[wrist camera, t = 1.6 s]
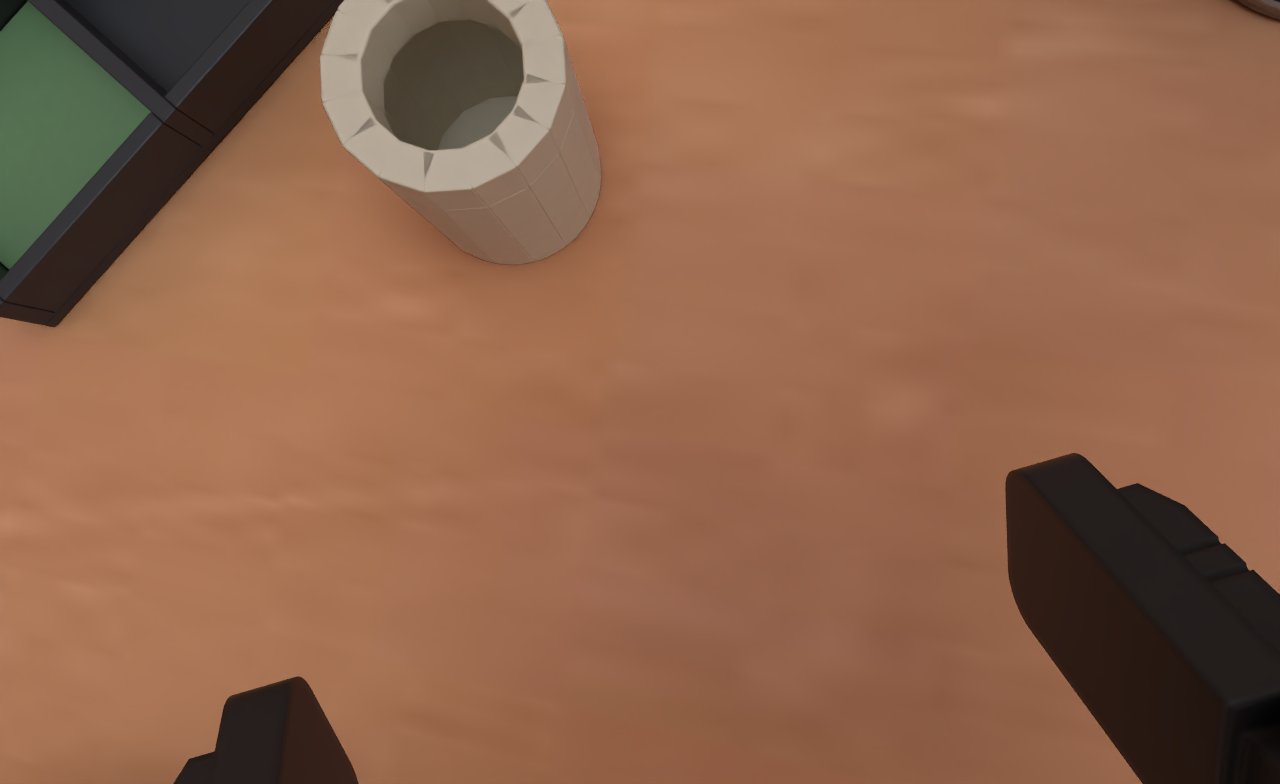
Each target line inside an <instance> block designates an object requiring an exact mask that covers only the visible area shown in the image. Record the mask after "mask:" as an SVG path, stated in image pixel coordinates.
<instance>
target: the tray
mask: <svg viewBox="0 0 1280 784" xmlns="http://www.w3.org/2000/svg"><path fill="white" fill-rule="evenodd" d="M343 1H344V0H0V317H4V318H9V319H14V320H19V321H25V322H30V323H35V324H40V325H46V326H51V327H55V326H56V325H57V324H58V323H59V322H60V321H61V320H62V319H63V317H64V316H65V315H66V314H67V313H68V312H69V311H70V310H71V308H72V307H73V306H74V305H75V304H76V303H77V302H78V301H79V299H80V298H81V297H82V296H83V295H84V294H85V293H86V292H87V291H88V289H89V288H90V287H91V286H92V285H93V284H94V283H95V282H96V280H97V279H98V278H99V277H100V276H101V275H102V274H103V273H104V271H105V270H106V269H107V268H108V267H109V266H110V265H111V264H112V262H113V261H114V260H115V259H116V258H117V257H118V256H119V255H120V254H121V252H122V251H123V250H124V249H125V248H126V247H127V246H128V245H129V243H130V242H131V241H132V240H133V239H134V238H135V237H136V236H137V234H138V233H139V232H140V231H141V230H142V229H143V228H144V227H145V225H146V224H147V223H148V222H149V221H150V220H151V219H152V218H153V216H154V215H155V214H156V213H157V212H158V211H159V210H160V209H161V208H162V206H163V205H164V204H165V203H166V202H167V201H168V200H169V199H170V197H171V196H172V195H173V194H174V193H175V192H176V191H177V190H178V188H179V187H180V186H181V185H182V184H183V183H184V182H185V181H186V179H187V178H188V177H189V176H190V175H191V174H192V173H193V172H194V170H195V169H196V168H197V167H198V166H199V165H200V164H201V163H202V162H203V160H204V159H205V158H206V157H207V156H208V155H209V154H210V153H211V151H212V150H213V149H214V148H215V147H216V146H217V145H218V144H219V142H220V141H221V140H222V139H223V138H224V137H225V136H226V135H227V133H228V132H229V131H230V130H231V129H232V128H233V127H234V126H235V125H236V123H237V122H238V121H239V120H240V119H241V118H242V117H243V116H244V114H245V113H246V112H247V111H248V110H249V109H250V108H251V107H252V105H253V104H254V103H255V102H256V101H257V100H258V99H259V98H260V96H261V95H262V94H263V93H264V92H265V91H266V90H267V89H268V87H269V86H270V85H271V84H272V83H273V82H274V81H275V80H276V79H277V77H278V76H279V75H280V74H281V73H282V72H283V71H284V70H285V68H286V67H287V66H288V65H289V64H290V63H291V62H292V61H293V59H294V58H295V57H296V56H297V55H298V54H299V53H300V52H301V50H302V49H303V48H304V47H305V46H306V45H307V44H308V43H309V41H310V40H311V39H312V38H313V37H314V36H315V35H316V34H317V33H318V31H319V30H320V29H321V28H322V27H323V26H324V25H325V24H326V22H327V21H328V20H329V19H330V18H331V17H332V16H333V15H334V13H335V12H336V11H337V10H338V7H339V5H340V4H341V3H342V2H343Z"/></svg>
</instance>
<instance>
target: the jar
mask: <svg viewBox="0 0 1280 784" xmlns="http://www.w3.org/2000/svg"><path fill="white" fill-rule="evenodd" d="M320 76H321V99H322V102H323V107H324V109H325V111H326V113H327V115H328V117H329V119H330V122H331V124H332V126H333V128H334V130H335V132H336V134H337V136H338V138H339V141H340V143H341V144H342V145H343V147H344V148H345V149H346V150H347V151H348V152H349V153H350V154H352V155H353V156H354V157H355V158H356V159H357V160H358V161H359V162H361V163H362V164H363V165H364V166H365V167H366V168H367V169H368V170H370V171H371V172H372V173H373V174H374V175H375V176H376V177H378V178H379V179H380V180H381V181H382V182H383V183H384V184H386V185H387V186H388V187H389V188H390V189H391V190H393V191H394V192H395V193H396V194H397V195H398V196H400V197H401V198H402V199H403V200H404V201H405V202H407V203H408V204H409V205H410V206H411V207H412V208H413V209H415V210H416V211H417V212H418V213H419V214H420V215H422V216H423V217H424V218H425V219H426V220H427V221H429V222H430V223H431V224H432V225H433V226H434V227H436V228H437V229H438V230H439V231H440V232H441V233H443V234H444V235H445V236H446V237H447V238H448V239H449V240H451V241H452V242H453V243H454V244H455V245H456V246H458V247H459V248H460V249H461V250H463V251H464V252H467V253H469V254H471V255H472V256H475V257H477V258H480V259H482V260H485V261H489V262H492V263H498V264H506V265H518V264H525V263H531V262H534V261H538V260H541V259H544V258H546V257H549V256H551V255H553V254H554V253H556V252H558V251H560V250H561V249H563V248H564V247H565V246H567V245H568V244H569V243H571V242H572V241H573V240H574V239H575V238H576V237H577V236H578V235H579V233H580V232H581V231H582V230H583V228H584V227H585V226H586V224H587V222H588V221H589V219H590V217H591V216H592V213H593V211H594V209H595V206H596V204H597V200H598V197H599V193H600V186H601V165H600V158H599V149H598V145H597V142H596V139H595V136H594V132H593V129H592V126H591V123H590V120H589V116H588V113H587V110H586V107H585V103H584V100H583V97H582V94H581V91H580V87H579V84H578V81H577V78H576V75H575V71H574V68H573V65H572V62H571V59H570V56H569V53H568V50H567V46H566V43H565V40H564V37H563V34H562V31H561V29H560V27H559V25H558V23H557V21H556V19H555V17H554V15H553V13H552V11H551V9H550V7H549V5H548V3H547V1H546V0H344V1H343V2H342V3H341V4H340V5H339V7H338V11H336V12H335V15H334V17H333V20H332V23H331V26H330V29H329V31H328V34H327V37H326V40H325V42H324V45H323V48H322V51H321V55H320Z"/></svg>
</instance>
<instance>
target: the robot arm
mask: <svg viewBox="0 0 1280 784" xmlns="http://www.w3.org/2000/svg"><path fill="white" fill-rule="evenodd" d="M1237 1H1239V2H1240V3H1242V4H1244V5H1245V6H1247V7H1249V8H1251V9H1253V10H1255V11H1257V12H1259V13H1262V14H1264V15H1267V16H1270V17H1273V18H1276V19H1280V0H1237ZM1005 490H1006V519H1007V549H1008V573H1009V580H1010V585H1011V589H1012V593H1013V596H1014V599H1015V601H1016V604H1017V606H1018V609H1019V611H1020V613H1021V615H1022V617H1023V619H1024V621H1025V622H1026V624H1027V626H1028V627H1029V629H1030V630H1031V631H1032V633H1033V634H1034V636H1035V637H1036V638H1037V640H1038V641H1039V642H1040V644H1041V645H1042V646H1043V648H1044V649H1045V651H1046V652H1047V653H1048V655H1049V656H1050V657H1051V659H1052V660H1053V662H1054V663H1055V664H1056V666H1057V667H1058V668H1059V670H1060V671H1061V672H1062V674H1063V675H1064V677H1065V678H1066V679H1067V681H1068V682H1069V683H1070V685H1071V686H1072V688H1073V689H1074V690H1075V692H1076V693H1077V694H1078V696H1079V697H1080V699H1081V700H1082V701H1083V703H1084V704H1085V705H1086V707H1087V708H1088V709H1089V711H1090V712H1091V714H1092V715H1093V716H1094V718H1095V719H1096V720H1097V722H1098V723H1099V725H1100V726H1101V727H1102V729H1103V730H1104V731H1105V733H1106V734H1107V735H1108V737H1109V738H1110V740H1111V741H1112V742H1113V744H1114V745H1115V746H1116V748H1117V749H1118V751H1119V752H1120V753H1121V755H1122V756H1123V757H1124V759H1125V760H1126V762H1127V763H1128V764H1129V766H1130V767H1131V768H1132V770H1133V771H1134V772H1135V774H1136V775H1137V777H1138V778H1139V779H1140V781H1141V782H1142V783H1143V784H1280V594H1278V593H1277V592H1276V591H1275V590H1274V589H1273V588H1272V587H1271V586H1270V585H1269V584H1268V583H1267V582H1266V581H1265V580H1263V579H1262V578H1261V577H1260V576H1259V575H1258V574H1257V573H1256V572H1255V571H1254V570H1251V571H1249V570H1248V568H1247V566H1246V563H1245V562H1244V561H1243V560H1242V559H1241V558H1240V557H1239V556H1238V555H1237V554H1236V553H1235V552H1234V551H1233V550H1231V549H1230V548H1229V547H1228V546H1227V545H1226V544H1225V543H1224V544H1221V543H1220V542H1219V540H1218V536H1217V535H1215V534H1214V533H1213V532H1212V531H1211V530H1210V529H1209V528H1208V527H1207V526H1206V525H1205V524H1204V523H1203V522H1202V521H1201V520H1199V519H1198V518H1197V517H1196V516H1195V515H1194V514H1193V513H1192V512H1191V511H1190V510H1189V509H1188V508H1187V507H1186V506H1185V505H1182V504H1180V503H1178V502H1176V501H1174V500H1172V499H1170V498H1168V497H1166V496H1163V495H1161V494H1159V493H1157V492H1155V491H1153V490H1151V489H1149V488H1147V487H1144V486H1142V485H1140V484H1138V483H1136V484H1133V485H1130V486H1126V487H1123V488H1119V489H1116V488H1115V487H1114V486H1113V485H1112V484H1111V483H1110V482H1109V481H1108V480H1107V479H1106V478H1105V477H1104V476H1103V475H1102V474H1101V473H1100V472H1099V471H1098V470H1097V469H1096V468H1095V467H1094V466H1093V465H1092V464H1091V463H1090V462H1089V461H1088V460H1087V459H1086V458H1085V457H1083V456H1081V455H1080V454H1077V453H1071V454H1068V455H1065V456H1061V457H1058V458H1054V459H1051V460H1047V461H1044V462H1041V463H1037V464H1034V465H1030V466H1027V467H1023V468H1020V469H1016V470H1013V471H1011V472H1009V474H1008V475H1007V478H1006V488H1005ZM174 784H358V780H357V777H356V774H355V772H354V769H353V767H352V765H351V762H350V761H349V759H348V757H347V755H346V753H345V751H344V749H343V747H342V746H341V744H340V742H339V740H338V738H337V736H336V734H335V732H334V731H333V729H332V727H331V725H330V723H329V721H328V719H327V718H326V716H325V714H324V712H323V710H322V708H321V706H320V704H319V703H318V701H317V699H316V697H315V695H314V693H313V691H312V689H311V688H310V686H309V684H308V683H307V682H306V681H305V680H304V679H303V678H302V677H294V678H290V679H287V680H283V681H280V682H277V683H273V684H270V685H266V686H263V687H259V688H256V689H253V690H249V691H246V692H242V693H239V694H235V695H232V696H230V697H229V698H228V699H227V701H226V703H225V705H224V709H223V713H222V718H221V723H220V728H219V733H218V738H217V743H216V748H215V752H212V753H208V754H205V755H201V756H198V757H195V758H191V759H189V760H188V762H187V763H186V765H185V766H184V768H183V769H182V771H181V773H180V774H179V776H178V777H177V779H176V781H175V782H174Z"/></svg>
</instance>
